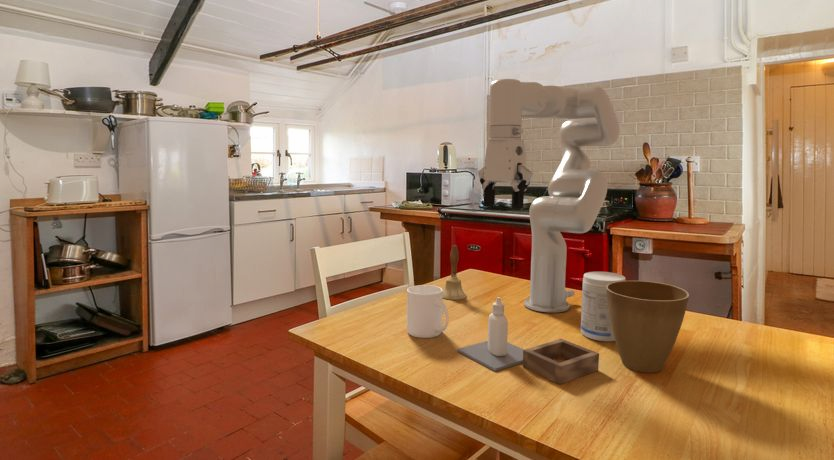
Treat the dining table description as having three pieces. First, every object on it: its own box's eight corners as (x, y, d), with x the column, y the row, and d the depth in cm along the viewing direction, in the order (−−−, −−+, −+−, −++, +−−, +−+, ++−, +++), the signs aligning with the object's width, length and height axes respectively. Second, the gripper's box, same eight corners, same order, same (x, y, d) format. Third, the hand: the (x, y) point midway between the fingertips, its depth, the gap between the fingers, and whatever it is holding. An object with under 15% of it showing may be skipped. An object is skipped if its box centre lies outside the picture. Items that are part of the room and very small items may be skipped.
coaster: (498, 340, 110) (498, 337, 110) (537, 358, 100) (537, 355, 100) (457, 351, 104) (457, 348, 103) (495, 371, 94) (495, 368, 94)
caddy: (560, 354, 102) (561, 338, 102) (598, 370, 94) (599, 353, 94) (522, 366, 96) (523, 350, 96) (559, 384, 88) (560, 366, 88)
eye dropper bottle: (508, 348, 104) (510, 294, 102) (506, 358, 99) (508, 302, 97) (488, 346, 105) (489, 293, 103) (485, 355, 100) (486, 300, 98)
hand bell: (464, 292, 151) (465, 243, 149) (468, 300, 143) (469, 247, 141) (438, 292, 151) (439, 243, 148) (441, 300, 142) (441, 247, 140)
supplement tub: (603, 326, 120) (606, 269, 118) (632, 340, 111) (636, 278, 109) (571, 331, 116) (574, 272, 114) (598, 345, 108) (602, 281, 105)
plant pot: (614, 345, 107) (618, 276, 105) (689, 363, 98) (695, 287, 96) (591, 367, 96) (595, 290, 94) (673, 389, 86) (680, 304, 84)
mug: (434, 345, 107) (434, 299, 105) (399, 331, 116) (399, 289, 114) (460, 336, 113) (460, 292, 111) (425, 324, 121) (425, 283, 120)
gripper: (544, 133, 107) (541, 209, 109) (491, 136, 121) (490, 203, 123) (520, 131, 103) (517, 210, 105) (468, 135, 117) (467, 205, 119)
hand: (502, 206), depth 114 cm, fingers open, 9 cm apart
